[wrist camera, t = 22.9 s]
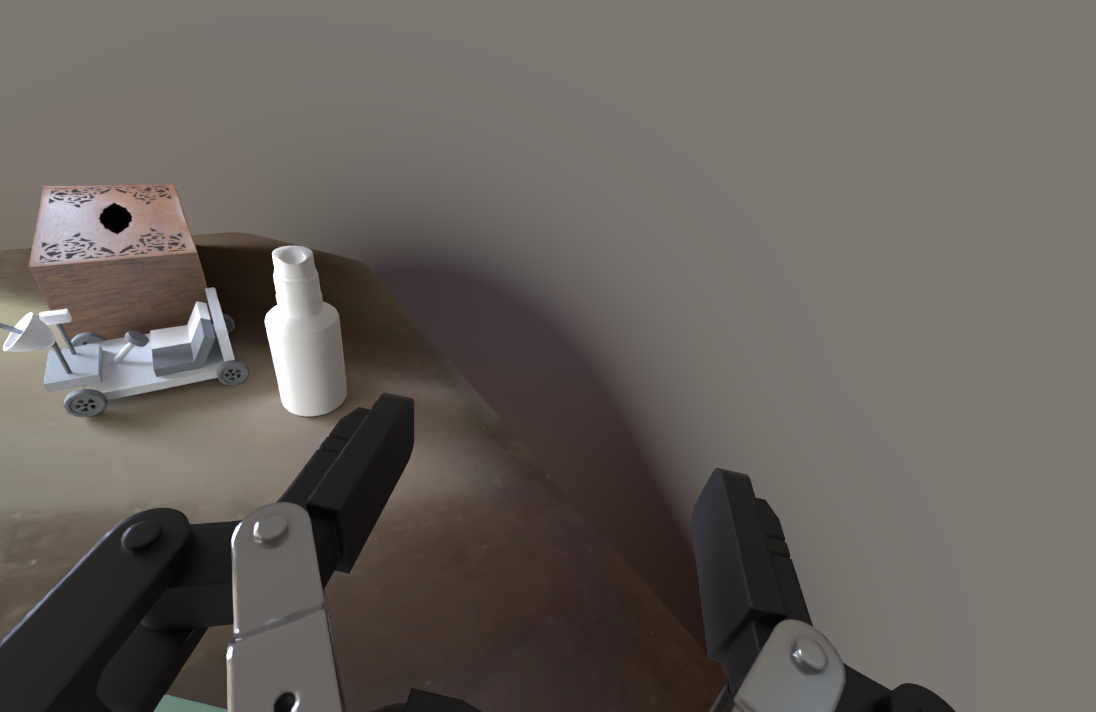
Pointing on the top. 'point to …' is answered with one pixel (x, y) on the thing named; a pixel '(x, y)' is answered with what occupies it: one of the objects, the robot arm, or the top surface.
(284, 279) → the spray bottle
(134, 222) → the tissue box cover
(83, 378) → the toy car
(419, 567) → the top surface
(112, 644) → the robot arm
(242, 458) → the top surface
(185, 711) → the bin
